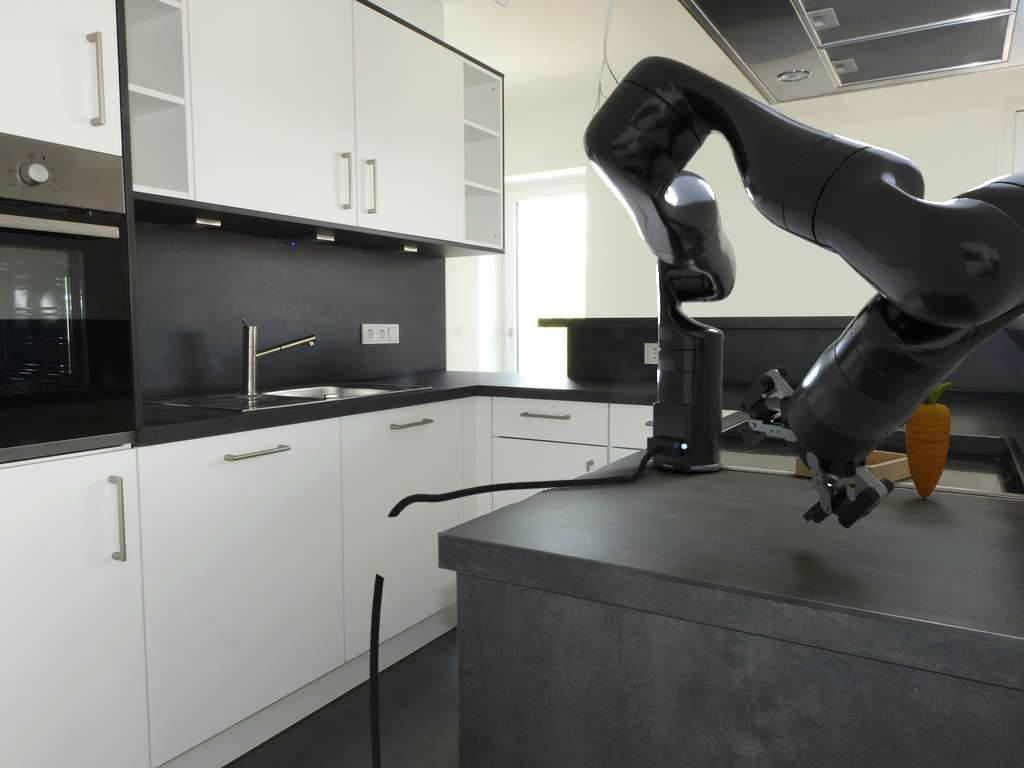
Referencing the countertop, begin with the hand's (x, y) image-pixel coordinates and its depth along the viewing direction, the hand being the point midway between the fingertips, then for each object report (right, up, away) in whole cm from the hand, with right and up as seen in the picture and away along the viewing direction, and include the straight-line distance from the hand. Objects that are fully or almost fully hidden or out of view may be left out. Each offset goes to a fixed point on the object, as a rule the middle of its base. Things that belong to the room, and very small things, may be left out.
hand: (780, 478), depth 69 cm
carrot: (+23, -5, +17) cm, 29 cm away
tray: (+22, -4, +31) cm, 38 cm away
